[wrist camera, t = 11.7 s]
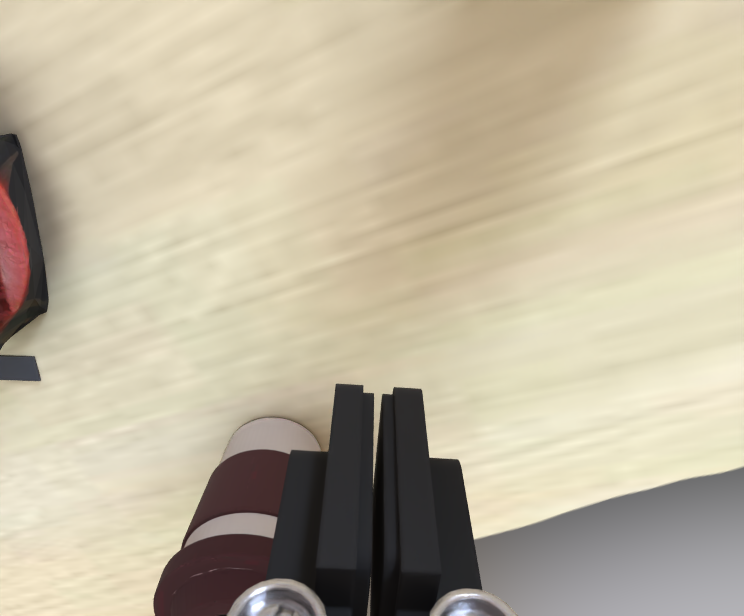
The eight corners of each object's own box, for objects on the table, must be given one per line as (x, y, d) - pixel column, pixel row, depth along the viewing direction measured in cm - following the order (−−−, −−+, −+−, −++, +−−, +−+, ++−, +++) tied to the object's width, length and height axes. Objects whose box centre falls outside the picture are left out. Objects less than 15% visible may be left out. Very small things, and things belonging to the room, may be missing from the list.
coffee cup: (343, 496, 46) (334, 692, 33) (222, 500, 46) (164, 698, 33) (334, 397, 41) (320, 579, 28) (199, 402, 42) (122, 586, 28)
